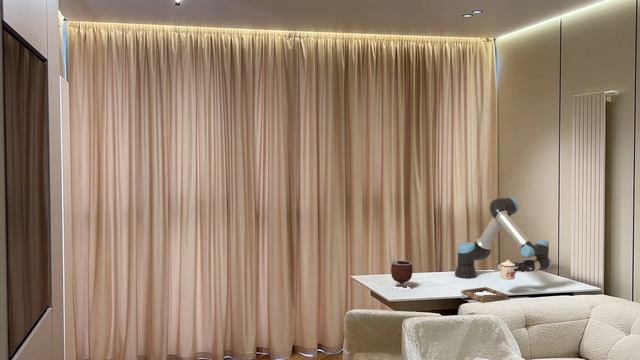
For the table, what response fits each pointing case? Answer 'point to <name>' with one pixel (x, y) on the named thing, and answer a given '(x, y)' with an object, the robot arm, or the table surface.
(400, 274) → the mate gourd
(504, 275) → the teacup with lid
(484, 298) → the tray
